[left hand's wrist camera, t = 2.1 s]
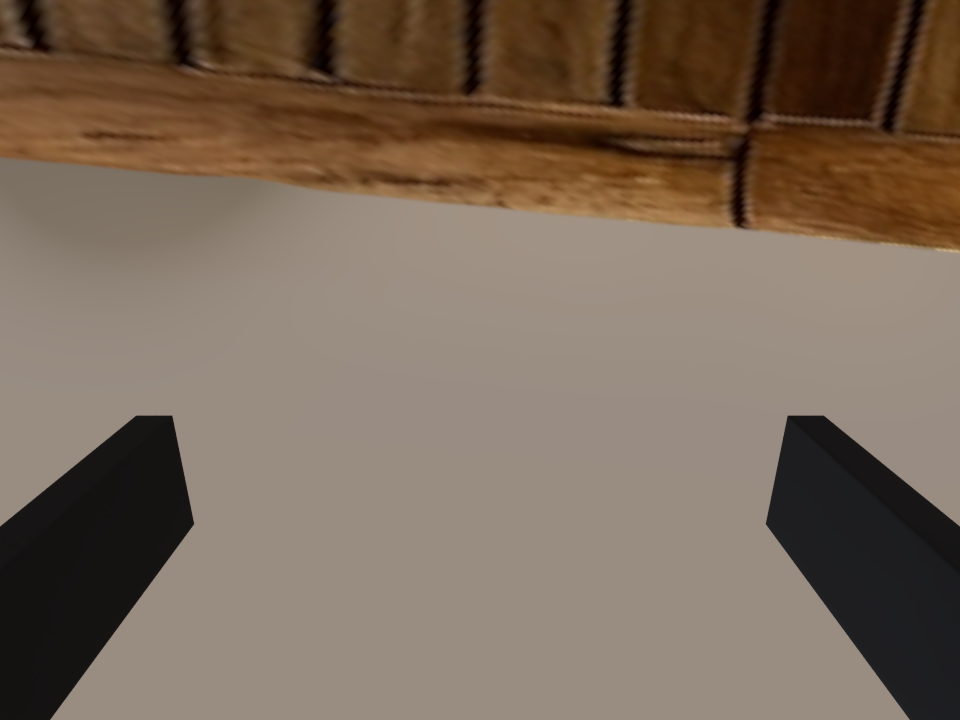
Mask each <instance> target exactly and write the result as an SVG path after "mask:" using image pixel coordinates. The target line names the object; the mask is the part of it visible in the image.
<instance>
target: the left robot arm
mask: <svg viewBox="0 0 960 720" xmlns="http://www.w3.org/2000/svg"><path fill="white" fill-rule="evenodd" d="M193 525H194V521H193V516H192V511H191V506H190V501H189V496H188V491H187V486H186V481H185V476H184V472H183V467H182V462H181V457H180V452H179V447H178V442H177V437H176V432H175V427H174V422H173V417H172V416H135V417H134V418H133V419H132V420H130V421H129V422H128V423H127V424H125V425H124V426H123V427H122V428H121V429H119V430H118V431H117V432H116V433H114V434H113V435H112V436H111V437H110V438H108V439H107V440H106V441H105V442H103V443H102V444H101V445H100V446H98V447H97V448H96V449H95V450H94V451H92V452H91V453H90V454H89V455H87V456H86V457H85V458H84V459H83V460H81V461H80V462H79V463H78V464H76V465H75V466H74V467H73V468H71V469H70V470H69V471H68V472H67V473H65V474H64V475H63V476H62V477H60V478H59V479H58V480H57V481H56V482H54V483H53V484H52V485H51V486H49V487H48V488H47V489H46V490H45V491H43V492H42V493H41V494H40V495H38V496H37V497H36V498H35V499H33V500H32V501H31V502H30V503H28V504H27V505H26V506H25V507H24V508H22V509H21V510H20V511H19V512H17V513H16V514H15V515H14V516H13V517H11V518H10V519H9V520H8V521H6V522H5V523H4V524H3V525H1V526H0V720H50V719H51V718H52V716H53V715H54V714H55V712H56V711H57V710H58V708H59V707H60V706H61V704H62V703H63V702H64V700H65V699H66V697H67V696H68V695H69V693H70V692H71V691H72V689H73V688H74V687H75V685H76V684H77V682H78V681H79V680H80V678H81V677H82V676H83V674H84V673H85V672H86V670H87V669H88V668H89V666H90V665H91V664H92V662H93V661H94V659H95V658H96V657H97V655H98V654H99V653H100V651H101V650H102V649H103V647H104V646H105V645H106V643H107V642H108V640H109V639H110V638H111V636H112V635H113V634H114V632H115V631H116V630H117V628H118V627H119V625H120V624H121V623H122V621H123V620H124V619H125V617H126V616H127V615H128V613H129V612H130V610H131V609H132V608H133V606H134V605H135V604H136V602H137V601H138V600H139V598H140V597H141V596H142V594H143V593H144V591H145V590H146V589H147V587H148V586H149V585H150V583H151V582H152V581H153V579H154V578H155V577H156V575H157V574H158V573H159V571H160V570H161V568H162V567H163V566H164V564H165V563H166V562H167V560H168V559H169V558H170V556H171V555H172V553H173V552H174V551H175V549H176V548H177V547H178V545H179V544H180V543H181V541H182V540H183V539H184V537H185V536H186V534H187V533H188V532H189V530H190V529H191V528H192V526H193ZM766 525H767V526H768V528H769V529H770V530H771V532H772V533H773V534H774V536H775V537H776V539H777V540H778V541H779V543H780V544H781V545H782V547H783V548H784V549H785V551H786V552H787V553H788V555H789V556H790V558H791V559H792V560H793V562H794V563H795V564H796V566H797V567H798V568H799V570H800V571H801V572H802V574H803V575H804V576H805V578H806V579H807V581H808V582H809V583H810V585H811V586H812V587H813V589H814V590H815V592H816V593H817V594H818V596H819V597H820V598H821V600H822V601H823V602H824V604H825V605H826V606H827V608H828V609H829V611H830V612H831V613H832V615H833V616H834V617H835V619H836V620H837V621H838V623H839V624H840V625H841V627H842V628H843V630H844V631H845V632H846V634H847V635H848V636H849V638H850V639H851V640H852V642H853V643H854V644H855V646H856V647H857V649H858V650H859V651H860V653H861V654H862V655H863V657H864V658H865V659H866V661H867V662H868V664H869V665H870V666H871V668H872V669H873V670H874V672H875V673H876V674H877V676H878V677H879V678H880V680H881V681H882V683H883V684H884V685H885V687H886V688H887V689H888V691H889V692H890V693H891V695H892V696H893V697H894V699H895V700H896V702H897V703H898V704H899V706H900V707H901V708H902V710H903V711H904V712H905V714H906V715H907V716H908V718H909V719H910V720H960V526H959V525H957V524H956V523H955V522H954V521H952V520H951V519H950V518H949V517H947V516H946V515H945V514H944V513H943V512H941V511H940V510H939V509H938V508H936V507H935V506H934V505H933V504H932V503H930V502H929V501H928V500H927V499H925V498H924V497H923V496H922V495H920V494H919V493H918V492H917V491H916V490H914V489H913V488H912V487H911V486H909V485H908V484H907V483H906V482H904V481H903V480H902V479H901V478H900V477H898V476H897V475H896V474H895V473H893V472H892V471H891V470H890V469H889V468H887V467H886V466H885V465H884V464H882V463H881V462H880V461H879V460H877V459H876V458H875V457H874V456H873V455H871V454H870V453H869V452H868V451H866V450H865V449H864V448H863V447H862V446H860V445H859V444H858V443H857V442H855V441H854V440H853V439H852V438H850V437H849V436H848V435H847V434H846V433H844V432H843V431H842V430H841V429H839V428H838V427H837V426H836V425H835V424H833V423H832V422H831V421H830V420H828V419H827V418H826V417H825V416H788V417H787V422H786V427H785V432H784V437H783V442H782V447H781V452H780V457H779V462H778V467H777V471H776V476H775V481H774V486H773V491H772V496H771V501H770V506H769V511H768V516H767V521H766Z"/></svg>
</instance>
